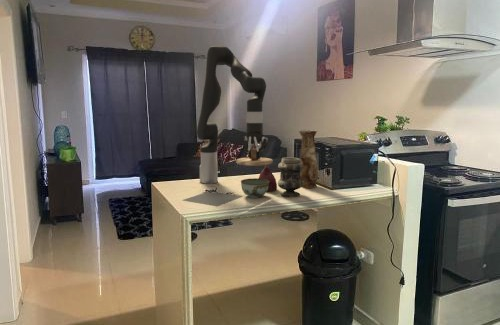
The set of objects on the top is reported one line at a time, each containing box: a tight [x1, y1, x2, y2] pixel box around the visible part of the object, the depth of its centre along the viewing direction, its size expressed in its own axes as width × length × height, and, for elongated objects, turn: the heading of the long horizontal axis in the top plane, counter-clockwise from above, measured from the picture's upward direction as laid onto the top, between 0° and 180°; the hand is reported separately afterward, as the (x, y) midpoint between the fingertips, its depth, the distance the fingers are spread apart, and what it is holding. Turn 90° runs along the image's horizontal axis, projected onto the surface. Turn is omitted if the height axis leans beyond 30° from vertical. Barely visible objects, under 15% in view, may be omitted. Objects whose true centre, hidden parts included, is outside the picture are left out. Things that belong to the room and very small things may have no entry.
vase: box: [298, 129, 319, 189], centre depth 202 cm, size 10×11×30 cm
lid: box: [235, 148, 274, 167], centre depth 178 cm, size 17×17×6 cm
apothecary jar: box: [277, 157, 303, 198], centre depth 185 cm, size 12×12×18 cm
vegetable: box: [258, 165, 278, 193], centre depth 195 cm, size 10×10×15 cm
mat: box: [182, 191, 244, 207], centre depth 178 cm, size 20×20×1 cm
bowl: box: [240, 177, 270, 199], centre depth 181 cm, size 14×13×8 cm
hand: (254, 158), depth 178 cm, fingers closed on lid, 3 cm apart
